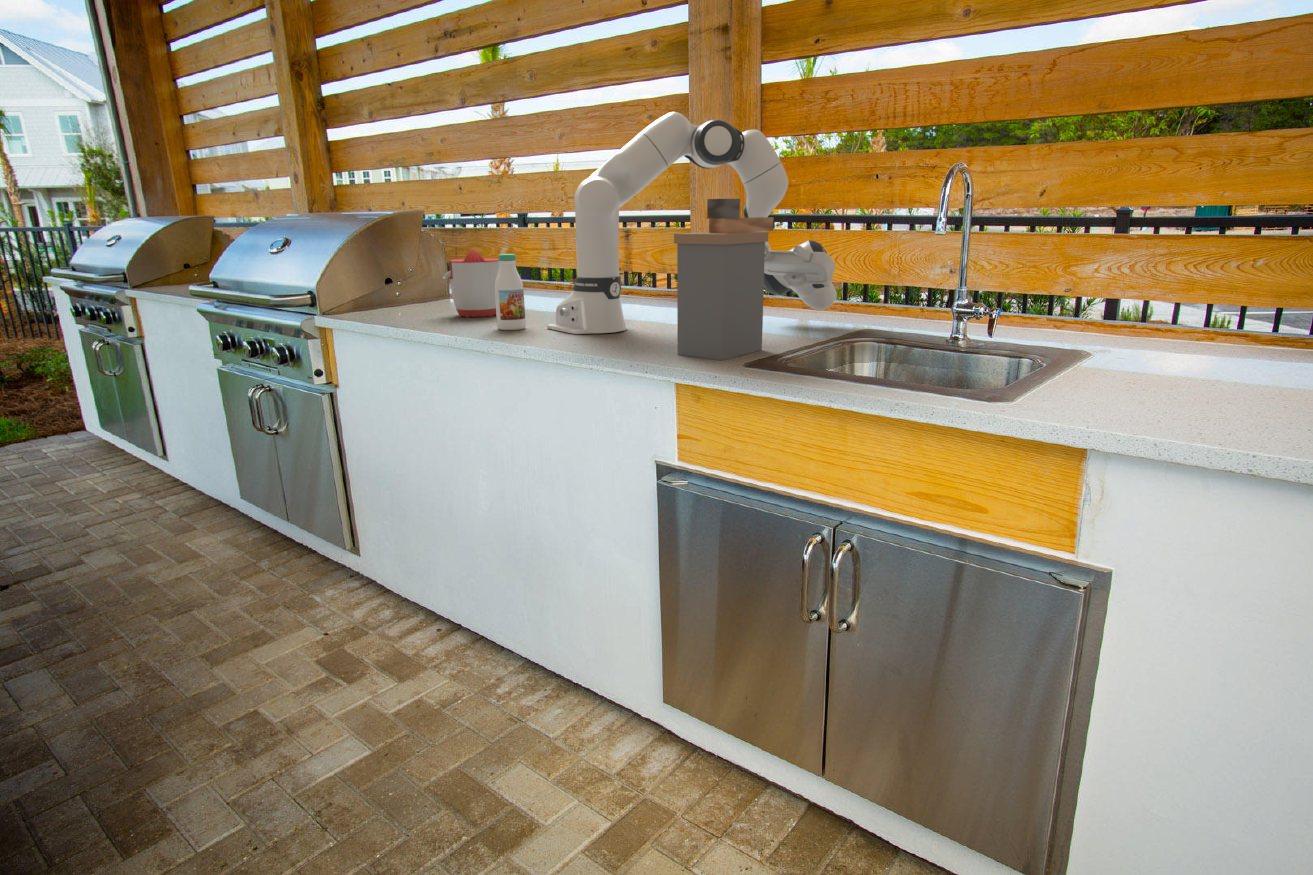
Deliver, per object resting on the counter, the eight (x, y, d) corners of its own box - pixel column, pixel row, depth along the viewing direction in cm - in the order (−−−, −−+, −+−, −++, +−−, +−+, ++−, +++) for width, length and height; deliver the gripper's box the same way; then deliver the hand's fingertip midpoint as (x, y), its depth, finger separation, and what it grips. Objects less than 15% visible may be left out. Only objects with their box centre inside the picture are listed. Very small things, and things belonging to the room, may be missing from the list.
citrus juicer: (445, 313, 243) (439, 249, 237) (500, 311, 248) (496, 247, 242) (447, 320, 228) (441, 251, 223) (506, 317, 233) (502, 250, 228)
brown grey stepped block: (707, 233, 165) (707, 199, 163) (756, 230, 180) (757, 199, 178) (726, 233, 162) (726, 198, 160) (774, 230, 177) (775, 199, 175)
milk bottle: (491, 330, 208) (486, 254, 203) (507, 326, 215) (502, 253, 210) (516, 331, 206) (511, 255, 200) (531, 327, 212) (526, 253, 207)
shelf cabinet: (674, 354, 170) (674, 233, 163) (717, 344, 183) (719, 231, 175) (722, 361, 162) (724, 234, 155) (764, 349, 175) (768, 232, 167)
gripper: (770, 261, 202) (746, 235, 191) (841, 264, 190) (820, 236, 179) (763, 282, 201) (739, 258, 191) (834, 287, 189) (813, 261, 178)
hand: (779, 247), depth 185 cm, fingers open, 8 cm apart
